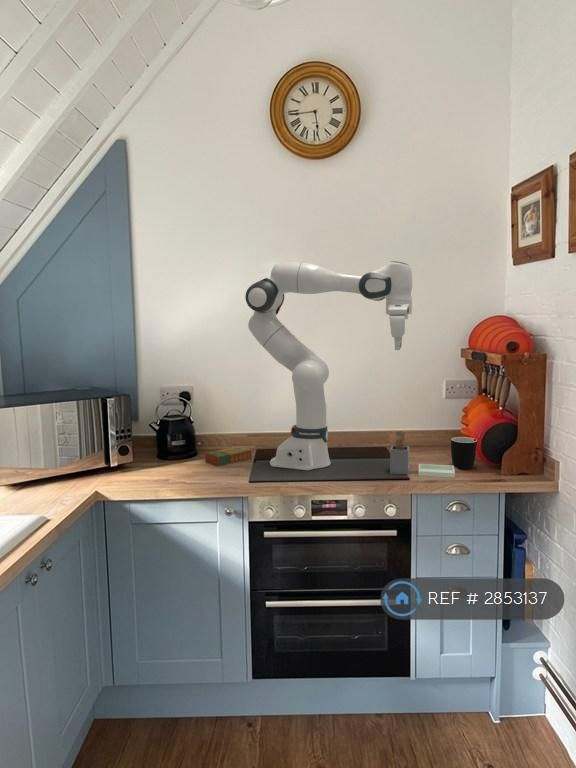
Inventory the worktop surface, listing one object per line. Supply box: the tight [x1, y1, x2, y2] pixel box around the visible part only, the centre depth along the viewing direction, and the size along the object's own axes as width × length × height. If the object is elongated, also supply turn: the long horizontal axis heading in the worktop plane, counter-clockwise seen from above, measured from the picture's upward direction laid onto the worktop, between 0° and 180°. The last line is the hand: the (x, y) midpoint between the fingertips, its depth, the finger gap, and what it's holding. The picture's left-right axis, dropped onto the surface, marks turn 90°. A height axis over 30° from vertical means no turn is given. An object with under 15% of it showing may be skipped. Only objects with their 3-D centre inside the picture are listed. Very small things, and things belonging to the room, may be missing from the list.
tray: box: [417, 463, 456, 479], centre depth 208 cm, size 12×10×2 cm
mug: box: [450, 436, 478, 470], centre depth 218 cm, size 12×9×10 cm
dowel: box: [395, 430, 405, 450], centre depth 209 cm, size 3×3×14 cm
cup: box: [389, 445, 410, 475], centre depth 209 cm, size 6×6×9 cm
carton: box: [204, 445, 252, 467], centre depth 229 cm, size 8×16×4 cm, turn 133°
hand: (398, 349), depth 209 cm, fingers open, 8 cm apart
